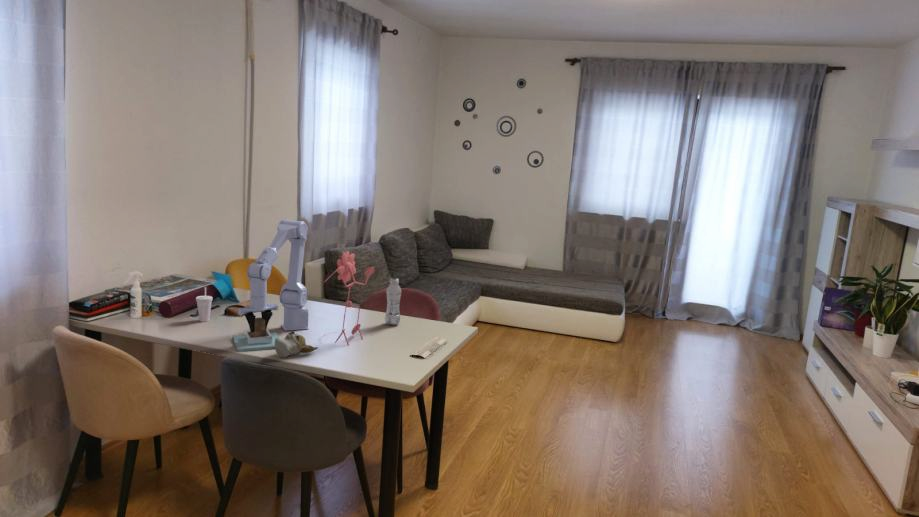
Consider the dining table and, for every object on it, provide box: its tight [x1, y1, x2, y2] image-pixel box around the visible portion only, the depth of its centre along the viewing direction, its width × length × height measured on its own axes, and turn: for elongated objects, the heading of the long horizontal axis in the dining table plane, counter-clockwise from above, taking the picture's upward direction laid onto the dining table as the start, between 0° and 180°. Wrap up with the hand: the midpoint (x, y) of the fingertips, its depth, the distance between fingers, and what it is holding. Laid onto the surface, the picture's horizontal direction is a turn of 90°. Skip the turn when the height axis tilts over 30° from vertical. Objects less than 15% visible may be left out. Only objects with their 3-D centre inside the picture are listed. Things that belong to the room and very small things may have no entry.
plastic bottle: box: [384, 277, 402, 326], centre depth 267 cm, size 6×7×20 cm
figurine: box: [319, 250, 375, 346], centre depth 242 cm, size 15×26×35 cm, turn 153°
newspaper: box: [409, 336, 447, 360], centre depth 241 cm, size 24×7×2 cm, turn 162°
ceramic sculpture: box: [275, 331, 319, 358], centre depth 224 cm, size 11×9×15 cm
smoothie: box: [195, 286, 214, 323], centre depth 255 cm, size 6×6×14 cm
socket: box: [243, 329, 272, 345], centre depth 234 cm, size 9×9×2 cm
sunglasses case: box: [223, 299, 250, 318], centre depth 273 cm, size 18×7×7 cm
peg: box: [249, 316, 265, 337], centre depth 233 cm, size 4×4×7 cm
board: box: [232, 332, 281, 353], centre depth 234 cm, size 16×16×1 cm
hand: (258, 330), depth 233 cm, fingers closed on peg, 4 cm apart
